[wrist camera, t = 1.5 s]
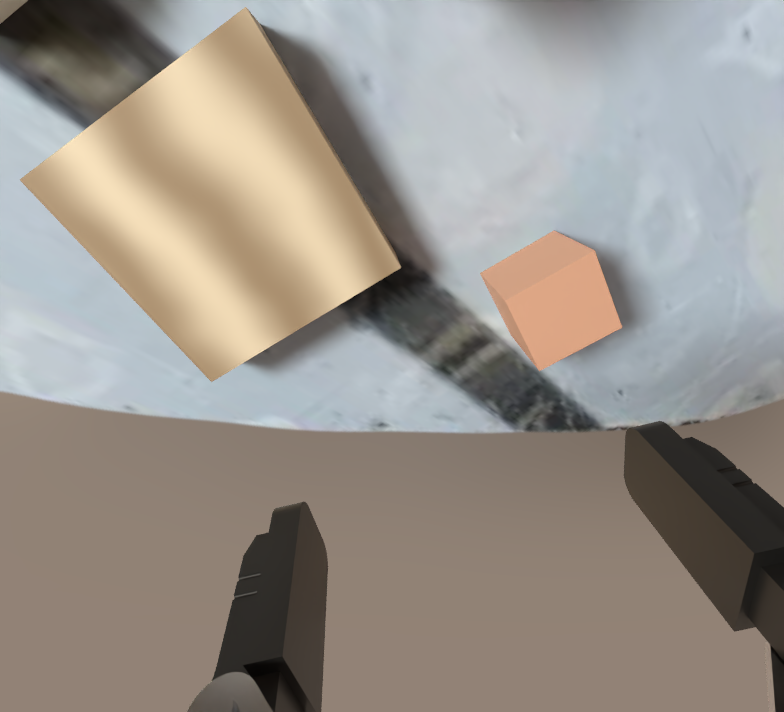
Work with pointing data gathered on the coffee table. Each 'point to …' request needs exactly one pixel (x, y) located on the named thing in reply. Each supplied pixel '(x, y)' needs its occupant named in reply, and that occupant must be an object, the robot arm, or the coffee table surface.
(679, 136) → the coffee table surface
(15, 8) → the cream cube
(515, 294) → the terracotta cube
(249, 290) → the birch block
